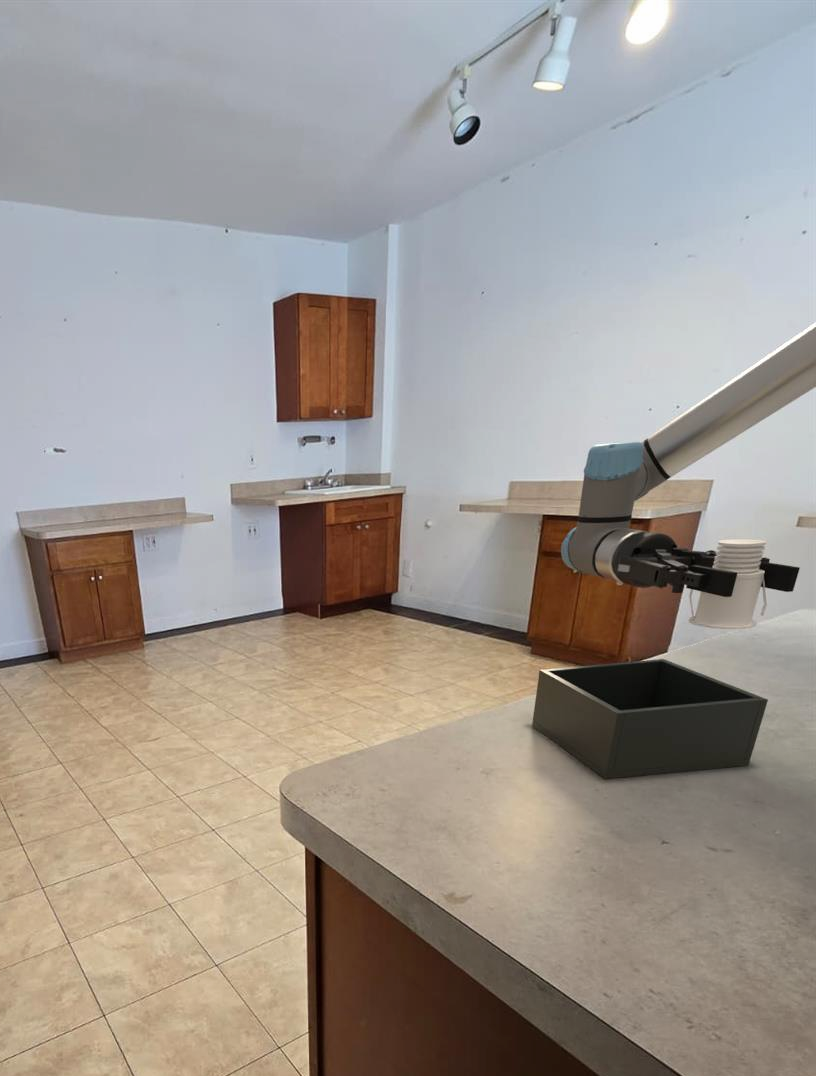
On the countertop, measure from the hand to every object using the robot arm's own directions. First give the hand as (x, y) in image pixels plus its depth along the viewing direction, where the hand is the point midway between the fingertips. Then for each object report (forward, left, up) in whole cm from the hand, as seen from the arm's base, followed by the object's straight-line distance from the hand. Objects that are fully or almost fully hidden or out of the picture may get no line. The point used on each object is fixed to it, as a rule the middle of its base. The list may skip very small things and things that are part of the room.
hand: (762, 582), depth 73 cm
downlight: (+2, -5, -6) cm, 8 cm away
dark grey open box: (+12, +8, -18) cm, 23 cm away
